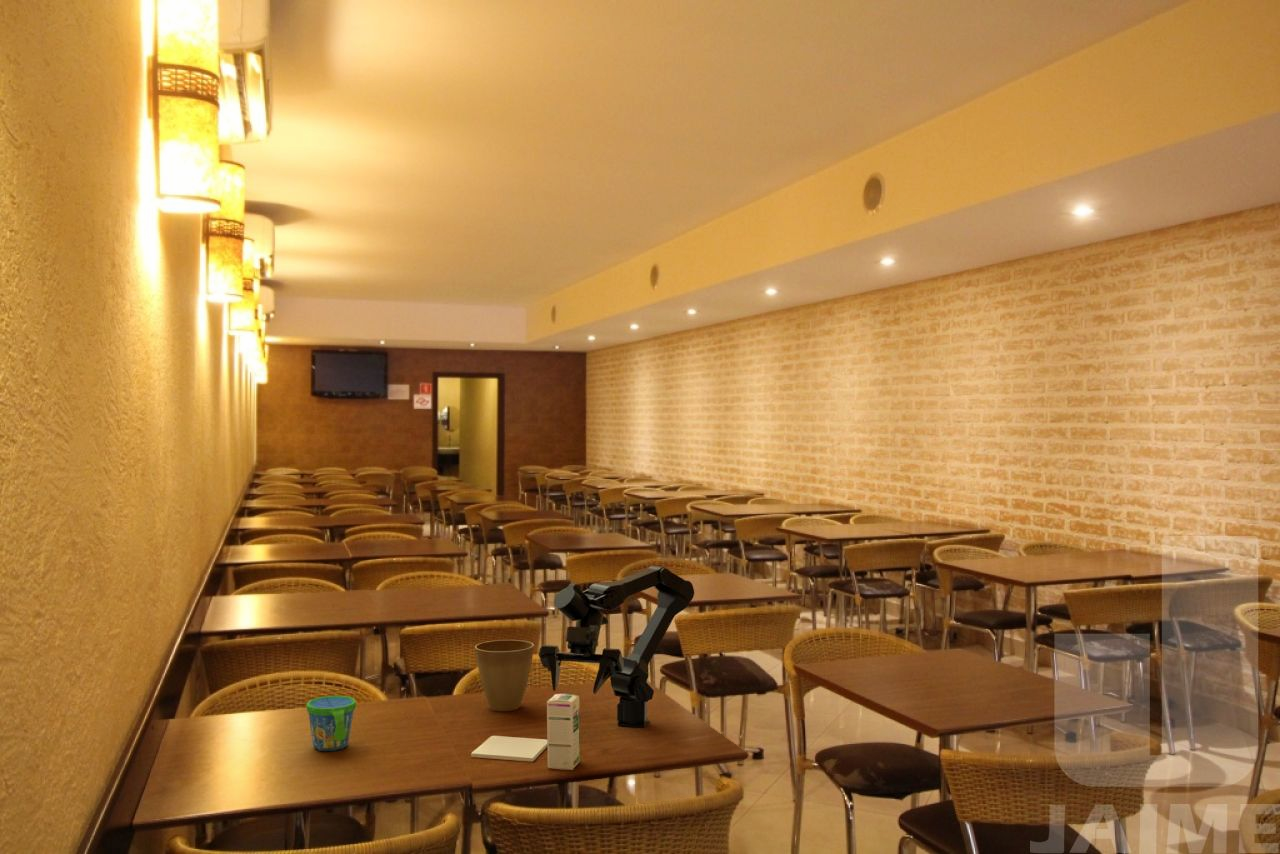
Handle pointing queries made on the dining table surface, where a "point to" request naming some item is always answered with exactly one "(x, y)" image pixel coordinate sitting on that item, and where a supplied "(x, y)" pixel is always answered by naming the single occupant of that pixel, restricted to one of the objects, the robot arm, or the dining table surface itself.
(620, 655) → the robot arm
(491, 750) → the cream mat
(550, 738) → the syrup box
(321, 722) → the snack cup
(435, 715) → the dining table surface
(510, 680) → the plant pot
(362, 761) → the dining table surface
